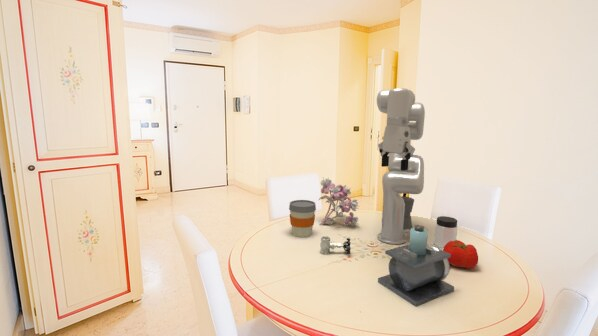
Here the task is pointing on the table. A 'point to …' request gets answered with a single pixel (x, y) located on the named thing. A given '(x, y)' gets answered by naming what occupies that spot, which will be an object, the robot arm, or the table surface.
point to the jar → (445, 230)
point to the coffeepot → (407, 211)
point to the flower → (339, 195)
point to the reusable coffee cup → (302, 217)
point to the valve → (333, 245)
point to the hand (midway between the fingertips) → (394, 168)
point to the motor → (417, 274)
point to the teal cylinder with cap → (418, 240)
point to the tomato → (461, 254)
